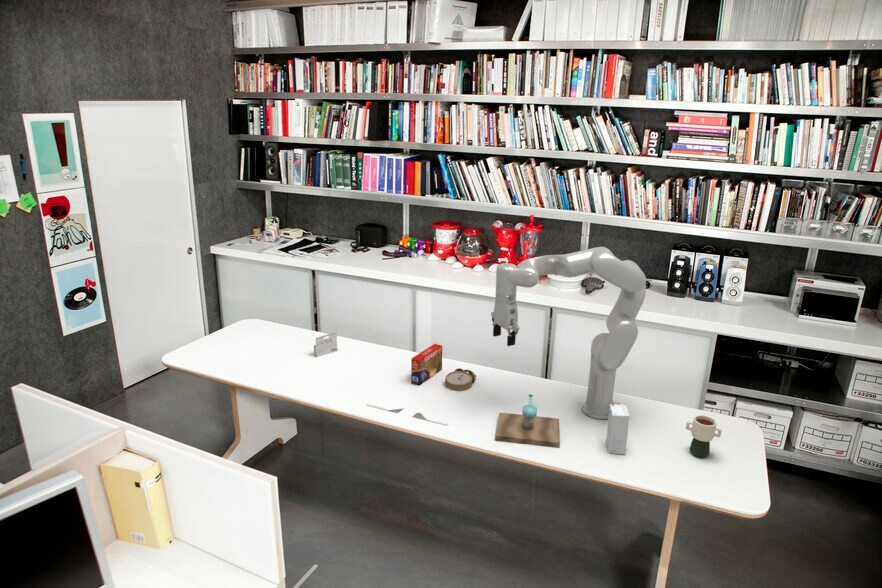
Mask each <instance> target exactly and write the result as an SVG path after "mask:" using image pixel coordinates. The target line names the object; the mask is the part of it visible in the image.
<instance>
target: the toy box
mask: <svg viewBox="0 0 882 588" xmlns="http://www.w3.org/2000/svg"><path fill="white" fill-rule="evenodd" d="M410 360H411V363H410V364H411V368H410V369H411V373H410V374H411V375H410V376H411V377H410V380H411V381H410V384H412V385H414V386H418V387H421V385H424V384H425V382H427V381H428V380H430V379H431V378H433V377H434V376H435V375H437V374H438V373H439V372H441V371H443V345H441V344H439V343H438V344H437V343H433V344H432V345H430V346H429V347H427V348H426V349H424V350H422V351H420V352H419V353H418V354H416V355H415V356H413V357H412V358H411V359H410Z"/></svg>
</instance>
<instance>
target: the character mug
mask: <svg viewBox="0 0 882 588" xmlns="http://www.w3.org/2000/svg"><path fill="white" fill-rule="evenodd" d="M690 425H692V426H691V427H690ZM685 429H686V430H687V431H690V432H691V436H692V437H693V438H692V439H691V440H692V441H691V442H690V446H689V452H690V453H691V454H692V455H694V456H696V457H699V458H706V457H708V456H709V455H710V452H711V451H710V450H711V445H710V444H711V441H713V439H714V438H715V437H716V438H720V437H722V432H723V430H722V428H721V427H717V421H716V419H714V418H713V417H711V416H709V415H705V414H697V415H695V416H694V417H693V420H692V421H689V420H687V421H686V424H685ZM716 431H717V433H716Z"/></svg>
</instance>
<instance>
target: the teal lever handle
mask: <svg viewBox="0 0 882 588" xmlns="http://www.w3.org/2000/svg"><path fill="white" fill-rule="evenodd" d="M527 403H528V404H525V405H524V406H522V414H521V415H524V416H525V417H529V418H532V417H535V416H537V411H538V408H537V407H536V406H534V405H533V394H531V393H530V394H528V401H527Z"/></svg>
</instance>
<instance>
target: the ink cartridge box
mask: <svg viewBox="0 0 882 588" xmlns="http://www.w3.org/2000/svg"><path fill="white" fill-rule="evenodd" d="M337 336H338V335H337V331H335V332H332V333H329V334H326V335H320V336H318V337H315V344H314V345H313V354H314V357H316V358H318V357H322V356H325V355H329V354H334V353H336V352H338V351H339V350H338V339H337V338H338V337H337ZM326 337H328V338H326Z"/></svg>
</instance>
